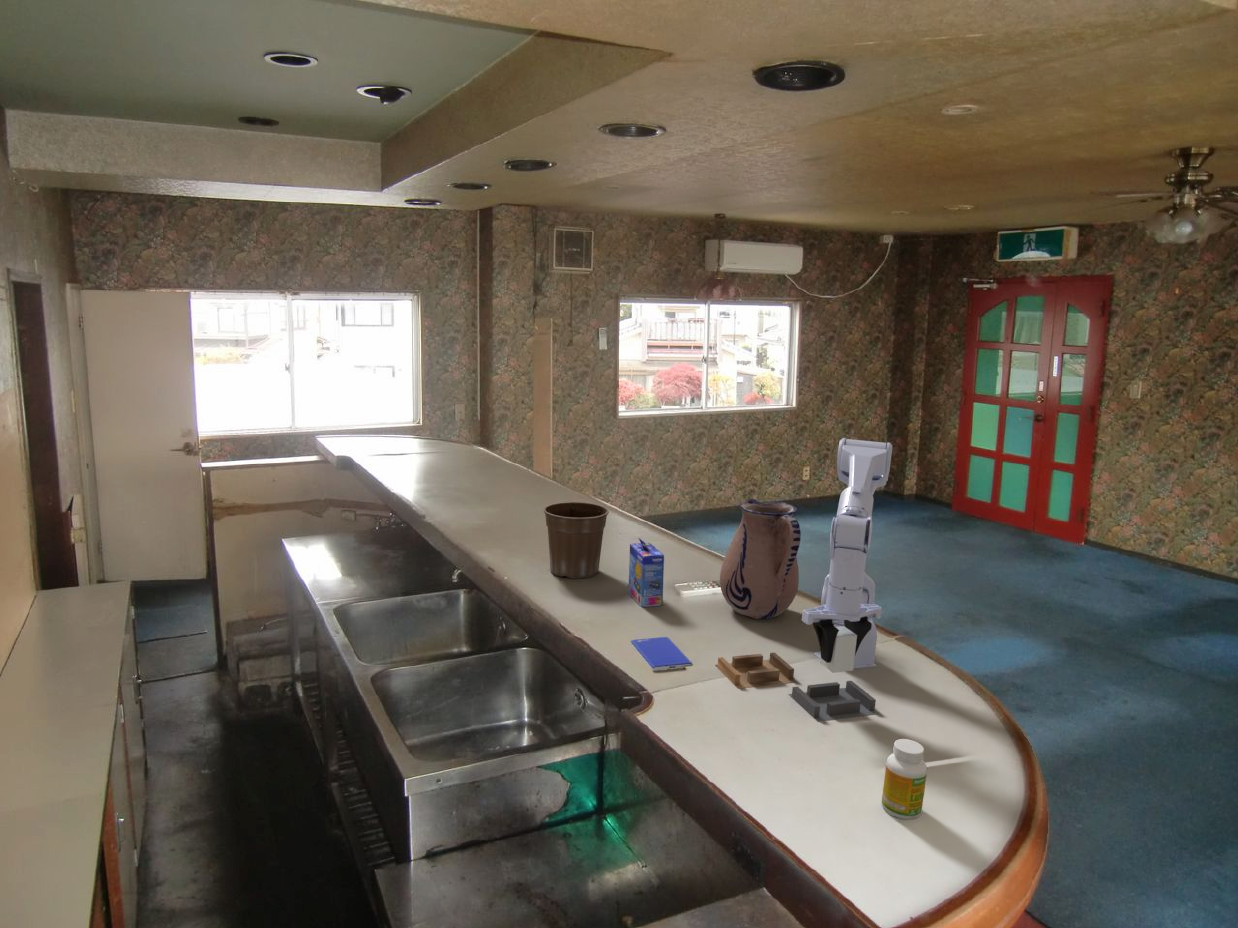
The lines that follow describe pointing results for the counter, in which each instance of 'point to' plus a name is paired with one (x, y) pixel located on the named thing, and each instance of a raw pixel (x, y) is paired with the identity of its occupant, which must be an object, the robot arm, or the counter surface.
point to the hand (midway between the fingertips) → (837, 659)
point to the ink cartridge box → (646, 574)
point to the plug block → (842, 651)
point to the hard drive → (660, 653)
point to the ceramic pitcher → (762, 560)
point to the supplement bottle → (905, 780)
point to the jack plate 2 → (834, 701)
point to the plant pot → (575, 537)
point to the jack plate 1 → (756, 670)
